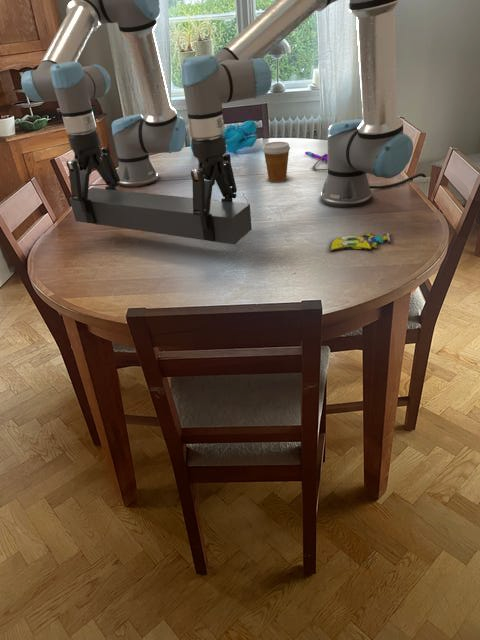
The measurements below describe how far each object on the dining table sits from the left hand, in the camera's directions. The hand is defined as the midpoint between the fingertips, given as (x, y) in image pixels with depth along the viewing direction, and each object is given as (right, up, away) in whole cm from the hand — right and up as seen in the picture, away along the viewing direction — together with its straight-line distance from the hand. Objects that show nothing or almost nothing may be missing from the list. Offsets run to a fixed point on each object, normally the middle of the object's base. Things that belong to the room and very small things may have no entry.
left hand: (104, 215), depth 134 cm
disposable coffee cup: (+51, +21, +39) cm, 68 cm away
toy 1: (+31, +45, +78) cm, 95 cm away
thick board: (+17, -4, -8) cm, 19 cm away
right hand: (+33, -7, -16) cm, 38 cm away
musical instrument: (+70, +31, +51) cm, 92 cm away
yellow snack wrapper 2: (+69, -9, -11) cm, 70 cm away
